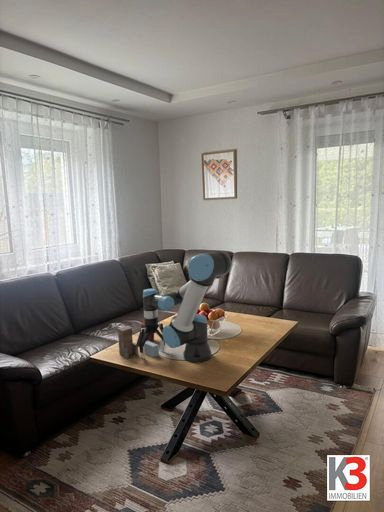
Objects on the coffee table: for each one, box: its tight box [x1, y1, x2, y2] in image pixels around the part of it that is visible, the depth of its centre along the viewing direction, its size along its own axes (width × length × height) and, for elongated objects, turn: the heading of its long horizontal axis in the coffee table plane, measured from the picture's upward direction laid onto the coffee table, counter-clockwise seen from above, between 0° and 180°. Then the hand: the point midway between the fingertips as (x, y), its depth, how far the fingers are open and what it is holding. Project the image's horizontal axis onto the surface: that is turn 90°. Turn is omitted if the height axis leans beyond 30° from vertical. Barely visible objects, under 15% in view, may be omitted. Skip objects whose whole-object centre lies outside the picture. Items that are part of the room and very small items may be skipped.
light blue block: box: [144, 341, 160, 358], centre depth 205 cm, size 10×4×6 cm, turn 42°
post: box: [116, 325, 139, 360], centre depth 204 cm, size 9×7×15 cm
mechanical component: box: [140, 321, 155, 342], centre depth 225 cm, size 12×10×10 cm
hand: (153, 354), depth 204 cm, fingers open, 12 cm apart
